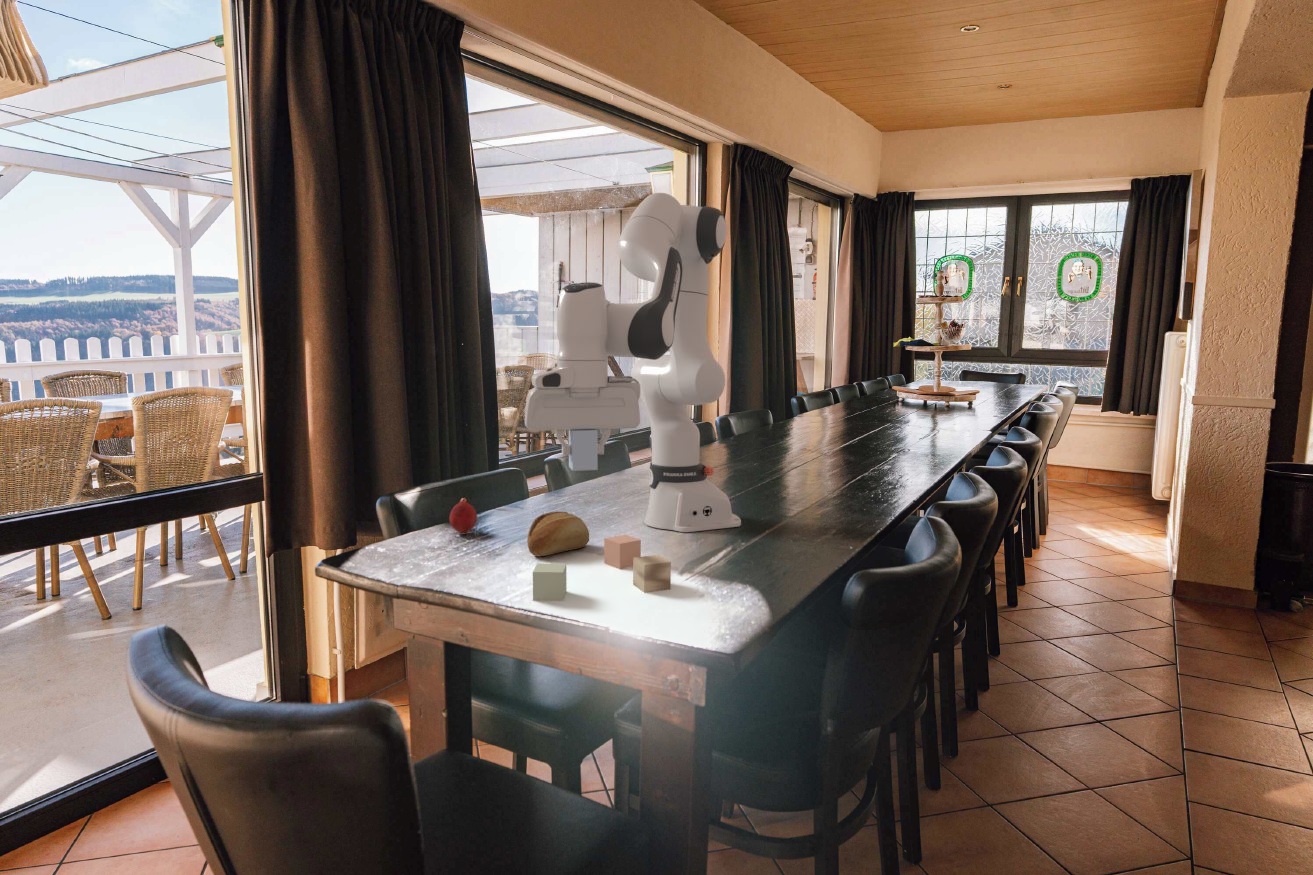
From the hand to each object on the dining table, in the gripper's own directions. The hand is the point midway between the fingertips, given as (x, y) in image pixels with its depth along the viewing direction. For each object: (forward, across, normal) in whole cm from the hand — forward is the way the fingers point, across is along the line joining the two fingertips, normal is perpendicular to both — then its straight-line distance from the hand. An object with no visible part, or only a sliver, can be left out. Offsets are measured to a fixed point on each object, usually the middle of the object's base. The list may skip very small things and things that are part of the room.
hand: (582, 454), depth 147 cm
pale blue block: (+2, 0, 0) cm, 2 cm away
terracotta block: (+23, -9, -8) cm, 26 cm away
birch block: (+23, -11, +7) cm, 26 cm away
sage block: (+23, +7, +8) cm, 25 cm away
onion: (+23, +20, -38) cm, 49 cm away
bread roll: (+23, +2, -20) cm, 30 cm away
